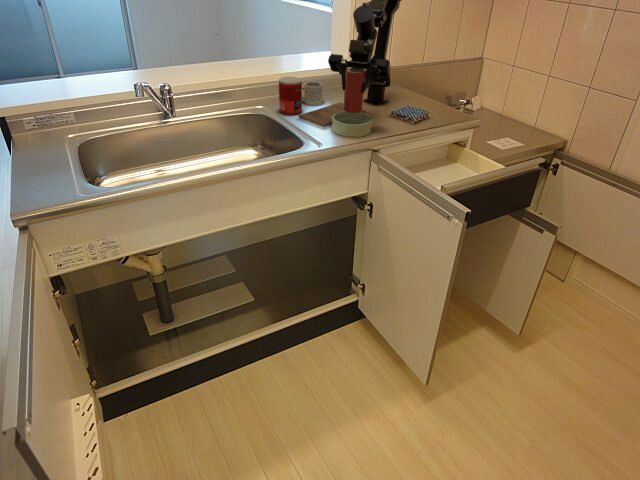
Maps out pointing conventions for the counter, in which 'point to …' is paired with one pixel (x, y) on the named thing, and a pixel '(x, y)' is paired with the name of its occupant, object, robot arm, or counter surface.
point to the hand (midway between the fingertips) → (352, 90)
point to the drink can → (353, 90)
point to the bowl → (351, 124)
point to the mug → (313, 93)
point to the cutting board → (324, 114)
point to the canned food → (290, 95)
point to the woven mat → (409, 114)
